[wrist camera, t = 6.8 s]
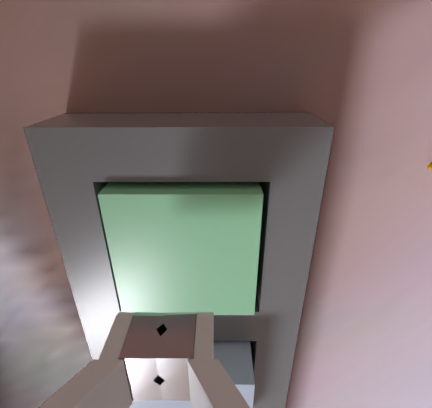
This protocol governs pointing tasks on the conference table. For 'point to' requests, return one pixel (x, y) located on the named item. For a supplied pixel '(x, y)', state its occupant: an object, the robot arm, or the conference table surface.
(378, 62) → the conference table surface
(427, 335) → the conference table surface
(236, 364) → the slate blue button
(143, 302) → the green button
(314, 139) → the button panel
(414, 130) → the conference table surface
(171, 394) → the robot arm
